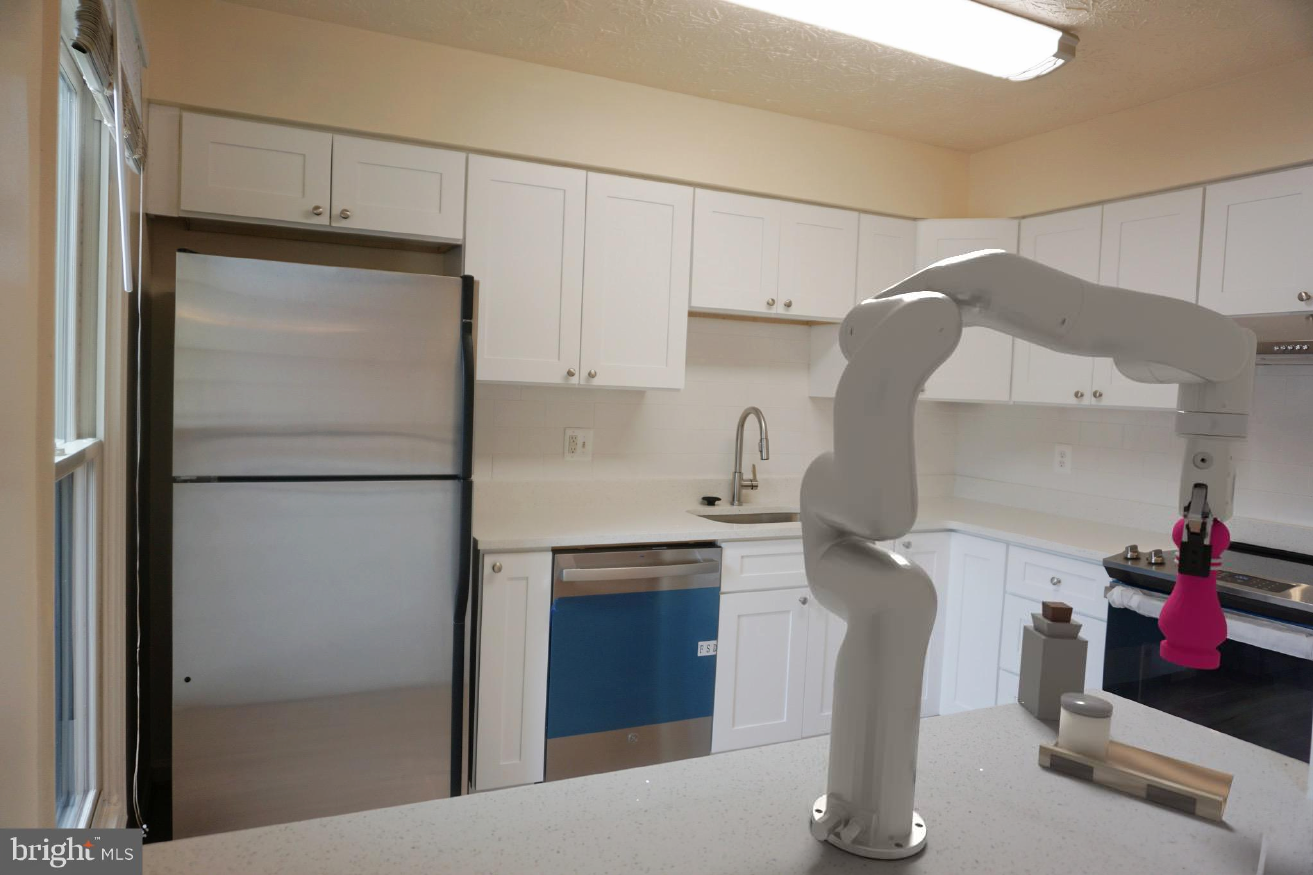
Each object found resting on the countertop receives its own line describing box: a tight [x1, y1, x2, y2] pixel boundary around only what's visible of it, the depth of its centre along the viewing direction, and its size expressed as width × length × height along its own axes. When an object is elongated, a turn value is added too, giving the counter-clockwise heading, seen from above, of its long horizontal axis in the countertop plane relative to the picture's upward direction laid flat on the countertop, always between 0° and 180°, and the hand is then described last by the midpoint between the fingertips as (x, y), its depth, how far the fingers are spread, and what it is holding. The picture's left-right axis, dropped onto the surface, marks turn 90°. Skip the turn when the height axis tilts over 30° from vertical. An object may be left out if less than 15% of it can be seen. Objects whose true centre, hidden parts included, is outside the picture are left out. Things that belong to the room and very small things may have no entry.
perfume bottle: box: [1017, 600, 1089, 721], centre depth 124 cm, size 7×7×18 cm
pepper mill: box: [1157, 516, 1231, 670], centre depth 99 cm, size 7×7×20 cm
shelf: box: [1037, 739, 1234, 823], centre depth 105 cm, size 16×20×4 cm
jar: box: [1057, 693, 1114, 762], centre depth 108 cm, size 6×6×8 cm
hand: (1197, 570), depth 99 cm, fingers closed on pepper mill, 5 cm apart
